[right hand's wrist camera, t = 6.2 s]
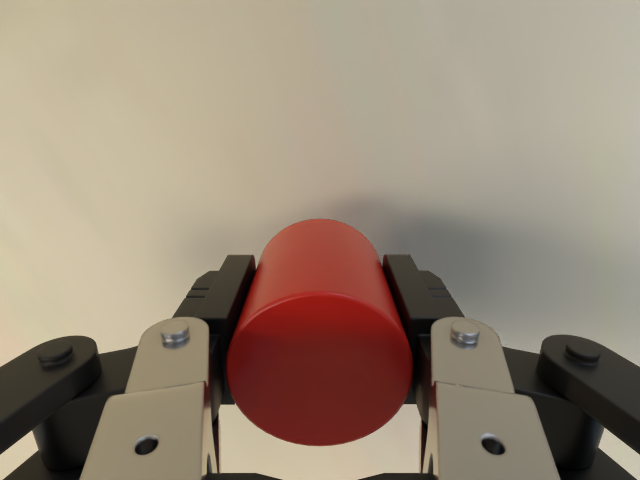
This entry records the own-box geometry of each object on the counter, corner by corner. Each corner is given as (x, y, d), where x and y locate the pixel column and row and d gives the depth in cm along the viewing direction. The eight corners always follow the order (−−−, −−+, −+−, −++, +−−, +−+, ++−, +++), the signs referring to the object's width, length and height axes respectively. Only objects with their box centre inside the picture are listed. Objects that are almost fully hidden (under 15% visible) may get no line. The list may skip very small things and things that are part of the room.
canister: (392, 314, 13) (429, 428, 8) (279, 340, 13) (258, 462, 9) (366, 203, 11) (394, 271, 7) (240, 235, 12) (195, 319, 8)
